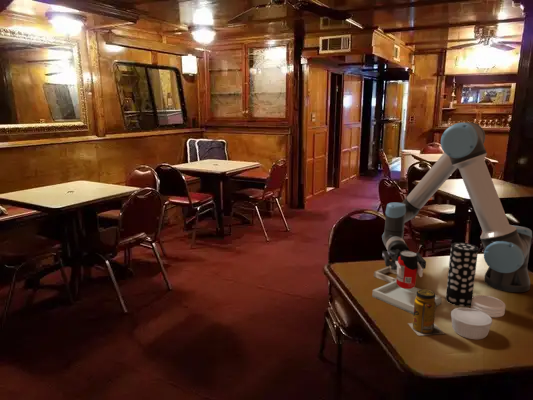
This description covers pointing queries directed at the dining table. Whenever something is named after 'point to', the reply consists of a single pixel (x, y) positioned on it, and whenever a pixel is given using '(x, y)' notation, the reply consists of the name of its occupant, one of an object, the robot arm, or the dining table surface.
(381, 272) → the collar
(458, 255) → the spotted tube
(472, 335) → the ramekin
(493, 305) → the shallow round dish
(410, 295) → the tray
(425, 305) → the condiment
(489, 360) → the dining table surface
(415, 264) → the beverage can
